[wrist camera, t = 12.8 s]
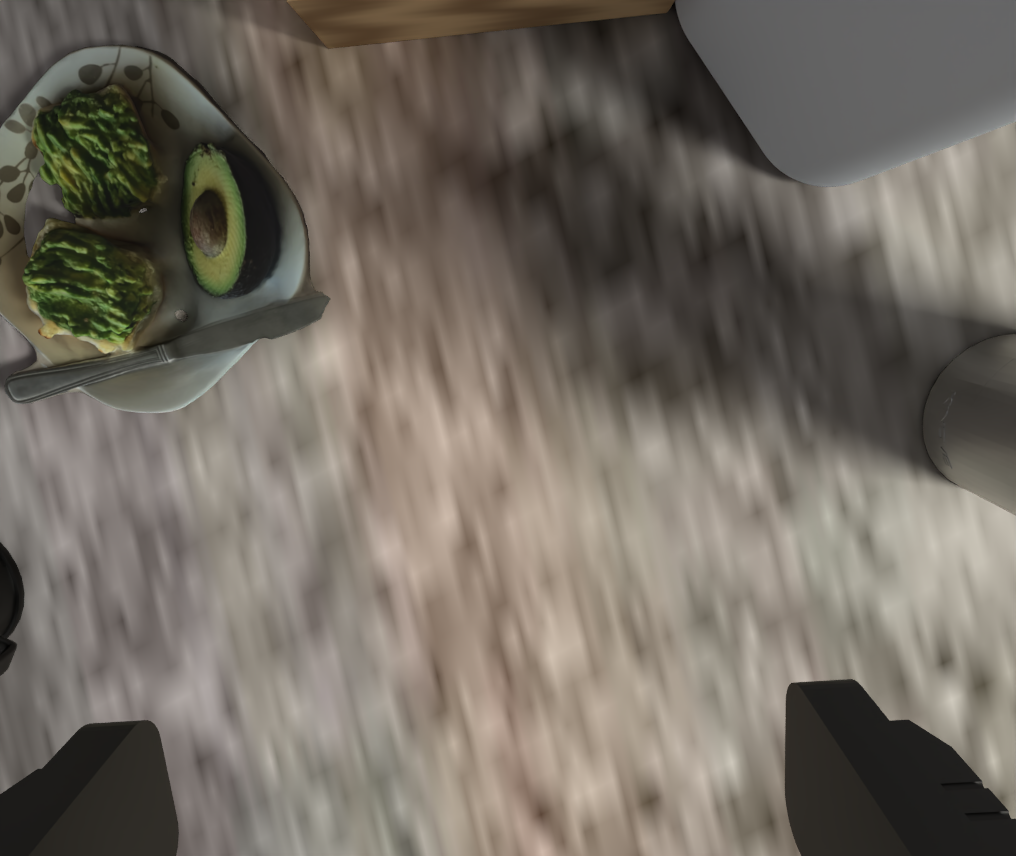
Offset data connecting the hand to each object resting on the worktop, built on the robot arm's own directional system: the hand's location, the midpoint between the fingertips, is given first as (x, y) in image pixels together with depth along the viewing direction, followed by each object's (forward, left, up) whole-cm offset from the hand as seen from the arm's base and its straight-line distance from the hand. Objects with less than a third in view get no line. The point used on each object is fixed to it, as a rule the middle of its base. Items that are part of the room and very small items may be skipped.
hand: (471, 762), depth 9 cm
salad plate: (+18, -9, -33) cm, 39 cm away
